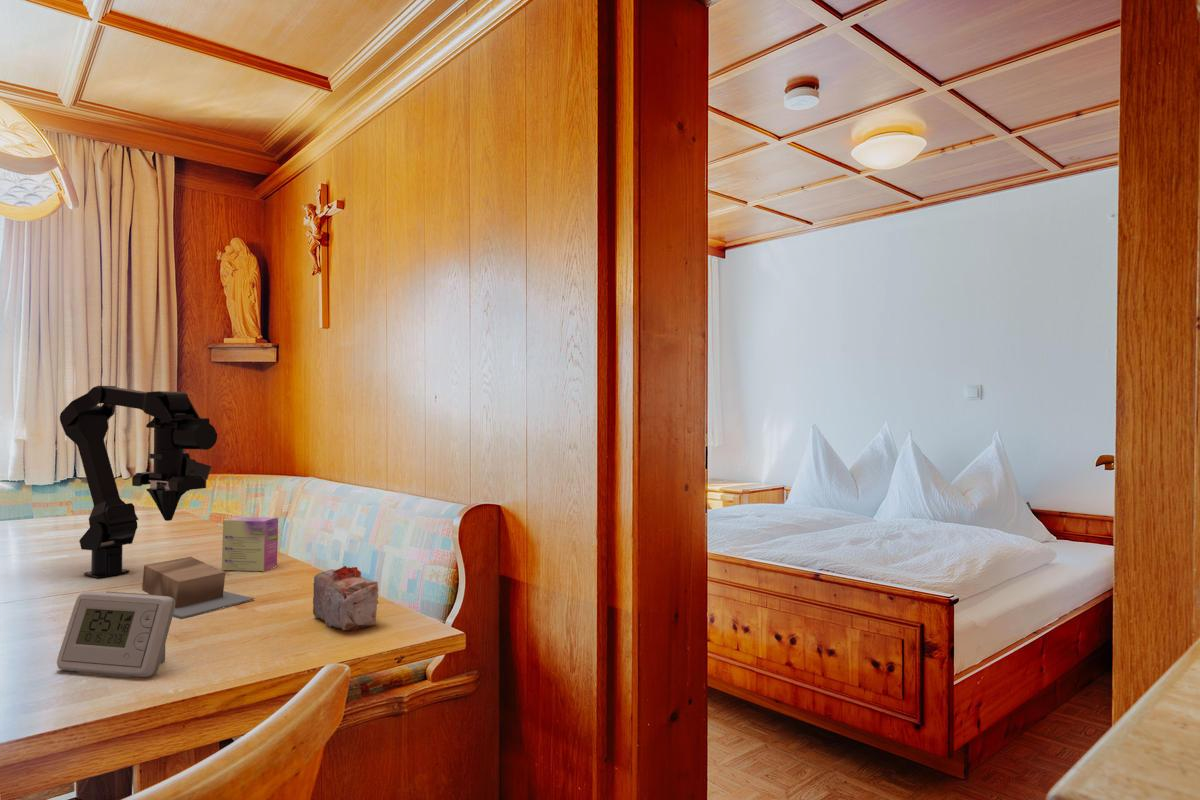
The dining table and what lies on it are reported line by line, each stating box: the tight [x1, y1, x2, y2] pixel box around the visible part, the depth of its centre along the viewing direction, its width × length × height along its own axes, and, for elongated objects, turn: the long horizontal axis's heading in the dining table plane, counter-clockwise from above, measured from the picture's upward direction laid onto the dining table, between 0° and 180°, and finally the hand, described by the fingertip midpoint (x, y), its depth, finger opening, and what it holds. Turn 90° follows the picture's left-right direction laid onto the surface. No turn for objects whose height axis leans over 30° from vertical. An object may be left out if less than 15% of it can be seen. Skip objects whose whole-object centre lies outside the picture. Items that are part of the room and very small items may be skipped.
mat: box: [173, 590, 256, 620], centre depth 134 cm, size 15×14×2 cm
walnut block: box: [141, 556, 226, 608], centre depth 137 cm, size 5×9×12 cm
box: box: [221, 515, 279, 573], centre depth 163 cm, size 10×6×12 cm, turn 84°
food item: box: [312, 565, 379, 632], centre depth 123 cm, size 14×8×10 cm, turn 47°
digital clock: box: [56, 590, 175, 678], centre depth 101 cm, size 16×9×11 cm, turn 68°
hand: (168, 520), depth 152 cm, fingers closed
